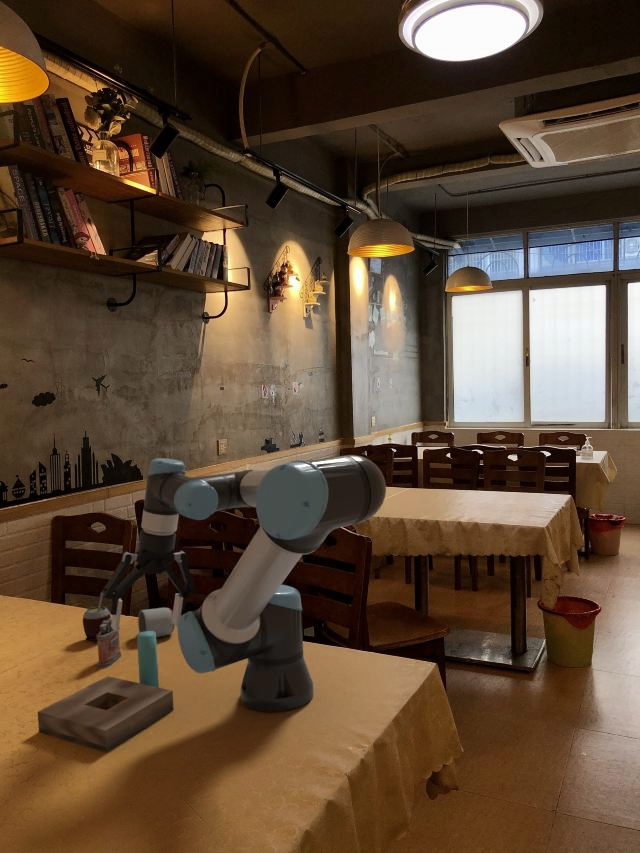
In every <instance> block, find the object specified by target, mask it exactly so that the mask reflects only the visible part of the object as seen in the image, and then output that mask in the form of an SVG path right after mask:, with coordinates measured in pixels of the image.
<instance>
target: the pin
mask: <svg viewBox="0 0 640 853" xmlns="http://www.w3.org/2000/svg"><path fill="white" fill-rule="evenodd" d="M136 642H137V646H136V647H137V657H138V658H137V661H138V662H137V663H138V677H139V678H138V679H139V681H138V683H141V684H145V685H150V686H154V687H158V688H160V686H159V684H160V683H159V667H158V666H159V665H158V663H159V662H158V649H157V638H156V632H154V631H145V632H141V633H137V634H136Z"/></svg>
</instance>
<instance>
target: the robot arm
mask: <svg viewBox="0 0 640 853" xmlns="http://www.w3.org/2000/svg"><path fill="white" fill-rule="evenodd" d="M386 492H387V486H386V480H385V476H384V475H383V472H382V471H381V469H380V468H379V466H377V464H376V463H374V462H373V461H371V460H370V459H369V458H366V457H364V456H360V455H355V454H354V455H352V454H348V455H347V454H346V455H340V456H334V457H333V456H331V457H325V458H318V459H317V458H316V459H311V460H310V459H309V460H300V459H298V460H292V461H291V460H290V461H289V462H287V463H283V464H278V465H276V466H274V467H272V468H271V469H262V470H260V469H246V470H242V471H241V470H240V471H234V472H228V473H222V474H221V473H219V474H212V475H203V476H196V477H191V476H188V475H186V465H185V463H184V462H183V461H182V460H181V461H180V460H178V459H172V458H165V457H164V458H163V457H162V458H161V457H159V458H154V459H152V460H151V461H150V463H149V469H148V473H147V476H146V485H145V494H144V502H143V504H144V505H143V511H142V518H141V526H140V528H142V529H141V530H140V531H139V532H140V534H139V539H138V549H137V552H136V553H130V552H128V551H123V552H122V556H121V558H120V562H119V564H118V565H117V567H116V568H115V570H114V571H113V573H112V575H111V576H110V578H109V580H107V581H108V582H106V584H105V586H104V588H103V589H102V591H101V593H103V597H104V598H106V599H110V601H109V608H108V611H109V612H110V616H111V617H112V624H111V627H112V628H113V630H114V631H119V632H120V629H119V628H120V623H121V614H122V608H123V600H122V596H124V595H125V593H127V591H128V590H129V589H130V588H131V587H132V586H133V585H135V583H136V582H137V581H138V580H139V579H140V578H142V577H143V576H144V575H145V574H147V575H153V574H157V575H162V574H163V573H165V574H166V576H167V577H168V578H169V580H170V581H171V583H172V584H173V586H174V587H175V588H176V590H177V591H178V593H175V595H174V602H173V609H172V612H173V615H172V623H173V624H174V625H175V627H177V628H176V629H177V637H178V640H177V641H178V643H179V647H180V651H181V654H182V656H183V659H184V660H185V662H186V664H187V665H188V667H189V668H190V669H191V670H192V671H193V672H195V673H197V674H205V673H209V672H215V671H216V670H218V669H221V668H224V667H227V666H229V665H232V664H236V663H238V662H241V661H244V660H247V664H246V667H245V670H244V674H243V678H242V682H241V685H240V700H241V702H242V704H243V705H244V706H246V707H247V708H249V709H252V710H254V711H259V712H268V713H269V712H270V713H276V712H285V711H290V710H294V709H297V708H300V707H302V706H304V705H306V704H308V703H309V702H310V701H311V700H312V699H313V697H314V682H313V679H312V677H311V674H310V671H309V668H308V666H307V663H306V661H305V657H304V641H303V640H304V639H303V612H302V611H303V607H302V598H301V594H300V591H299V590H298V589H296V588H295V587H292V586H290V585H286V584H283V583H284V581H285V579H287V577H288V575H290V573H291V571H292V570H293V569H294V567H295V566H296V565H297V563H298V562H299V560H300V559H301V557H302V556H303V555H309V554H311V553H313V552H316V550H318V549H319V548H320V547H321V545H322V543H324V541H325V540H326V538H327V536H328V535H329V534H330V533H331V532H332V531H334V530H337V529H339V528H344V527H348V526H353V525H357V524H362V523H363V522H366V521H368V520H369V519H371V518H372V517H374V516H375V515H376V514H377V513H378V511H380V509H381V507H382V505H383V504H384V502H385V498H386ZM245 507H248V508H254V507H255V510H256V516H257V519H258V523H259V526H260V527H259V528H258V529H257V531H256V533H255V534H254V535H253V538H252V539H251V541H250V542H249V544H248V546H247V547H246V549H245V550H244V552H243V553H242V555H241V557H240V558H239V559H238V561H237V563H236V565H235V566H234V568H233V569H232V571H231V573H229V574H230V575H229V576H228V577H227V579H226V581H225V582H224V584H223V586H221V588H219V589H216V590H214V591H212V592H210V593H209V594H208V595H207V596H206V597H205V599H204V601H203V602H202V604H201V605H200V607H199V608H198V609H196V610H193V611H191V610H190V611H189V610H188V611H187V612H186V613H185V612H184V614H182V611H184V610H185V609H186V607H187V605H186V604H187V599H188V598H189V597H190V595H191V594H195V593H197V589H196V585H195V583H194V580H193V577H192V573H191V571H190V568H189V565H188V555H187V553H185V552H184V551H183V550H179V551H178V552H174V550H175V545H176V538H177V534H176V531H177V530H178V524H179V523H178V522H179V516H180V515H181V516H183V517H185V518H188V519H193V520H196V521H202V520H206V519H208V518H209V517H210V516H211V515H213V514H214V513H215V512H219V511H224V510H229V509H234V508H236V509H237V508H245ZM179 514H180V515H179ZM135 561H136V564H135V566H134V567H133V568H132V570H131V571H130V572H129V573H128V574H127V575H126V573H127V571H128V570H129V568H130V566H131V565H132V564H133V563H134V562H135ZM174 561H175V562H177V564H178V566H179V570H180V572H181V575H182V578H183V580H184V581H183V582H184V584H185V586H184V584H183V583H182V582H181V581H180V579H179V578H178V576H177V574H176V573H175V571H174V570H173V569H172V567H171V564H172V563H173V562H174ZM125 575H126V576H125ZM124 576H125V577H124ZM122 579H123V580H122Z"/></svg>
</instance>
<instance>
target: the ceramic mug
mask: <svg viewBox="0 0 640 853" xmlns="http://www.w3.org/2000/svg"><path fill="white" fill-rule="evenodd" d="M172 615H173V609H171V608H169V607H158V608H150V609H141V610H140V611H139V613H138V617H137V618H138V619H137V625H138V632H139V633H141V632H145V631H154V632H156V639H157V638H160V637H161V636H162V637H167V636H170V635H171V634H172V633H173V632H174V630H175V627H176V626H175V625H174V624H173V623H172ZM139 633H138V634H139ZM166 635H167V636H166Z"/></svg>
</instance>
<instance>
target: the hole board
mask: <svg viewBox="0 0 640 853" xmlns="http://www.w3.org/2000/svg"><path fill="white" fill-rule="evenodd" d="M173 693H174V692H173V690H172V689H166V688H162V687H159V688H158V687H154V686H150V685H145V684H141V683H140V682H135V681H131V680H128V679H127V680H126V679H122V678H118V677H113V676H108V675H107V676H106V677H103V678H102V679H99V680H98V681H96V682H94V683H91V684H90V685H88V686H86V687H84V688H81V689H80V690H78V691H76V692H74V693H72V694H70V695H68V696H66V697H64V698H61V699H60V700H58V701H56V702H55V703H52V704H50V705H48V706H46V707H44V708H42V709H40V710H39V711H37V719H38V720H37V721H38V722H37V723H38V725H37V726H38V733H41V734H44V735H48V736H51V737H54V738H58V739H61V740H64V741H68V742H72V743H75V744H78V745H81V746H84V747H88V748H90V749H94V750H97V751H100V752H105V753H108V752H110V751H111V750H113V749H115V748H116V747H118V746H119V745H121V744H122V743H124V742H125V741H128V740H129V739H130V738H132V737H134V736H135V735H137V734H138V733H139V732H142V731H143V730H145V729H146V728H147V727H150V725H152V724H154V723H156V722H157V721H159V720H160V719H162V718H164V717H165V716H167V715H168V714H170V713H171V712H173V711H174V710H175V709H174V696H173V695H174V694H173Z"/></svg>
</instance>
